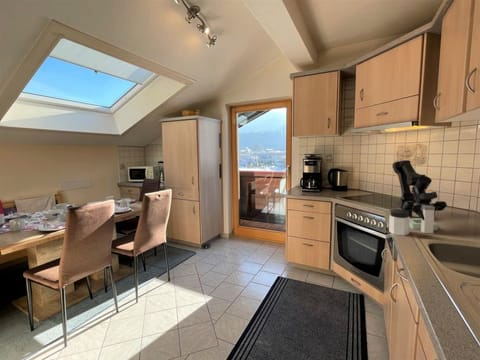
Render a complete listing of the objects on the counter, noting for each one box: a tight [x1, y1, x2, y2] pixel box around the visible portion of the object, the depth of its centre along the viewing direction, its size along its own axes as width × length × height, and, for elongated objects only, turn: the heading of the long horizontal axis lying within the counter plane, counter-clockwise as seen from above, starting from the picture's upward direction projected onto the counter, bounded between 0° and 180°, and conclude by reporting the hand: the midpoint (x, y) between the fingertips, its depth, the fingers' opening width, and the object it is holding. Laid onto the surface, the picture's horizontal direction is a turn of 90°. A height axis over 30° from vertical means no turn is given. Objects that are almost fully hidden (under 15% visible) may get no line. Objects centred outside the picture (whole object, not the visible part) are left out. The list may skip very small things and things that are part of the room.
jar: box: [388, 208, 410, 237], centre depth 128 cm, size 9×8×12 cm
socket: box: [409, 217, 439, 231], centre depth 136 cm, size 11×11×3 cm
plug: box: [420, 205, 435, 234], centre depth 127 cm, size 4×4×14 cm
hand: (428, 219), depth 126 cm, fingers closed on plug, 4 cm apart
